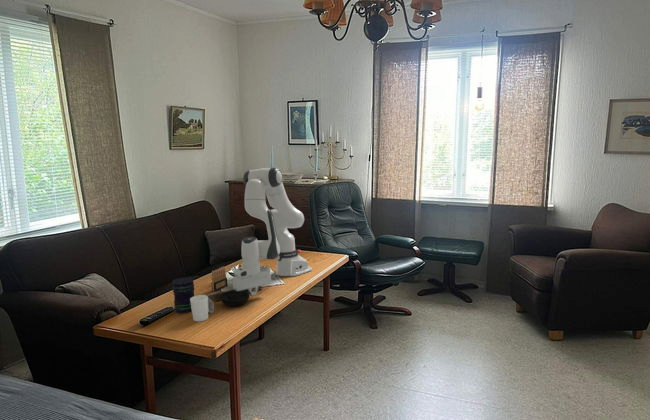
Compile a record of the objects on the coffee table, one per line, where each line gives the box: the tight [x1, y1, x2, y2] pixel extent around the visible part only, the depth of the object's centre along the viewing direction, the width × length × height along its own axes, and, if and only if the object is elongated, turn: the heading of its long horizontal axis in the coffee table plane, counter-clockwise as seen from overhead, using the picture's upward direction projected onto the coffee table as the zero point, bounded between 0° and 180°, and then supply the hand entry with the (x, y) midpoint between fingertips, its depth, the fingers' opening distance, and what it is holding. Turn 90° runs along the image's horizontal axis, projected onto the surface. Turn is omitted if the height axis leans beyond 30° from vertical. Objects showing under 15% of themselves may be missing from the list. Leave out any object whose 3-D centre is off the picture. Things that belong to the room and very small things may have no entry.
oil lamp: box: [219, 289, 250, 307], centre depth 222 cm, size 15×20×5 cm
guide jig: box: [205, 286, 263, 314], centre depth 225 cm, size 34×15×5 cm, turn 125°
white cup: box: [190, 294, 209, 322], centre depth 202 cm, size 8×8×10 cm
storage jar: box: [172, 276, 195, 315], centre depth 214 cm, size 10×10×15 cm
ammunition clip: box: [211, 265, 229, 293], centre depth 243 cm, size 11×2×12 cm, turn 150°
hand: (253, 295), depth 226 cm, fingers closed
